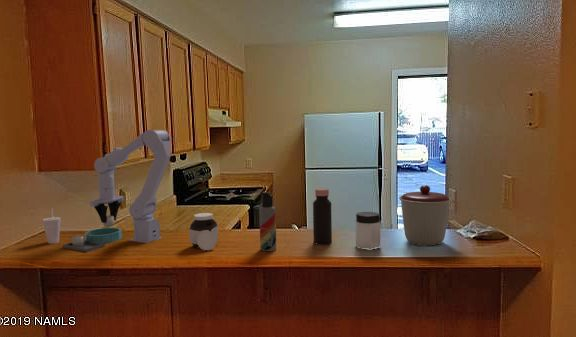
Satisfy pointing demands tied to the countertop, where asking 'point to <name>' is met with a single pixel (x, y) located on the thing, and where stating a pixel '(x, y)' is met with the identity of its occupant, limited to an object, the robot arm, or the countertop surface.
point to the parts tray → (85, 246)
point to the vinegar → (322, 217)
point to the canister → (425, 216)
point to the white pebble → (78, 241)
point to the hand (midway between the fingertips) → (108, 221)
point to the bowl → (103, 235)
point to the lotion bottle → (267, 224)
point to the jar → (367, 230)
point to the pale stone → (109, 221)
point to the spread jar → (204, 231)
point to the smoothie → (52, 228)
